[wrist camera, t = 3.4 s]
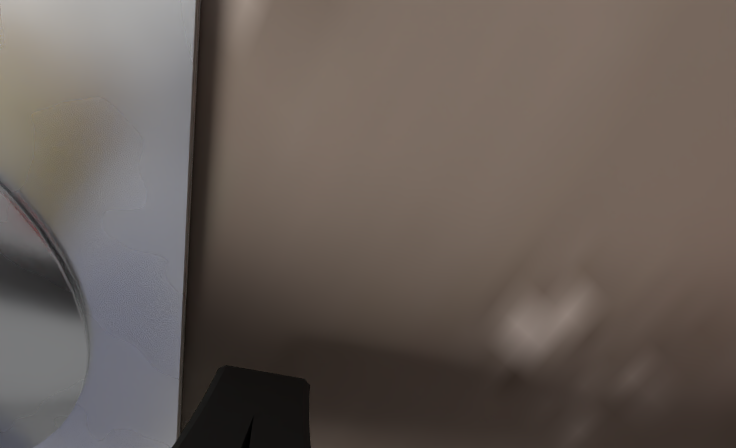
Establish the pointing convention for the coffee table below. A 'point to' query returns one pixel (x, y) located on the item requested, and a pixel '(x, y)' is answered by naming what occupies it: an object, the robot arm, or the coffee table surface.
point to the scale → (95, 219)
